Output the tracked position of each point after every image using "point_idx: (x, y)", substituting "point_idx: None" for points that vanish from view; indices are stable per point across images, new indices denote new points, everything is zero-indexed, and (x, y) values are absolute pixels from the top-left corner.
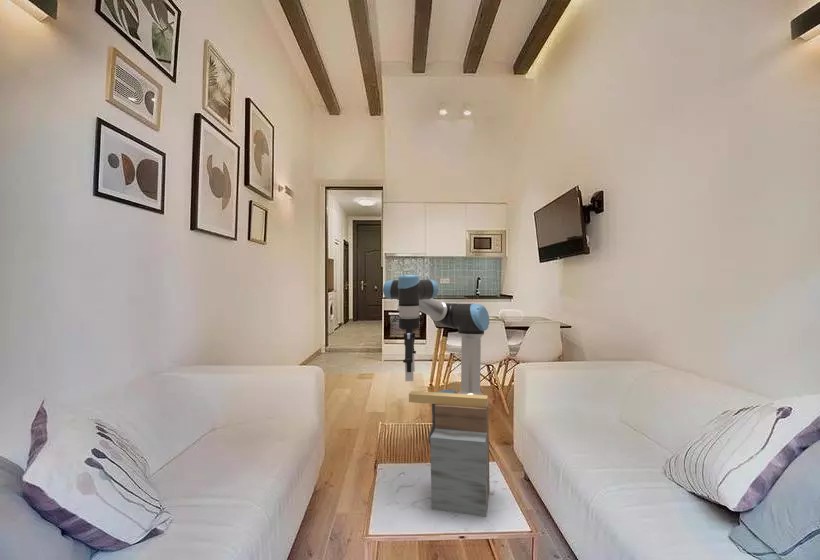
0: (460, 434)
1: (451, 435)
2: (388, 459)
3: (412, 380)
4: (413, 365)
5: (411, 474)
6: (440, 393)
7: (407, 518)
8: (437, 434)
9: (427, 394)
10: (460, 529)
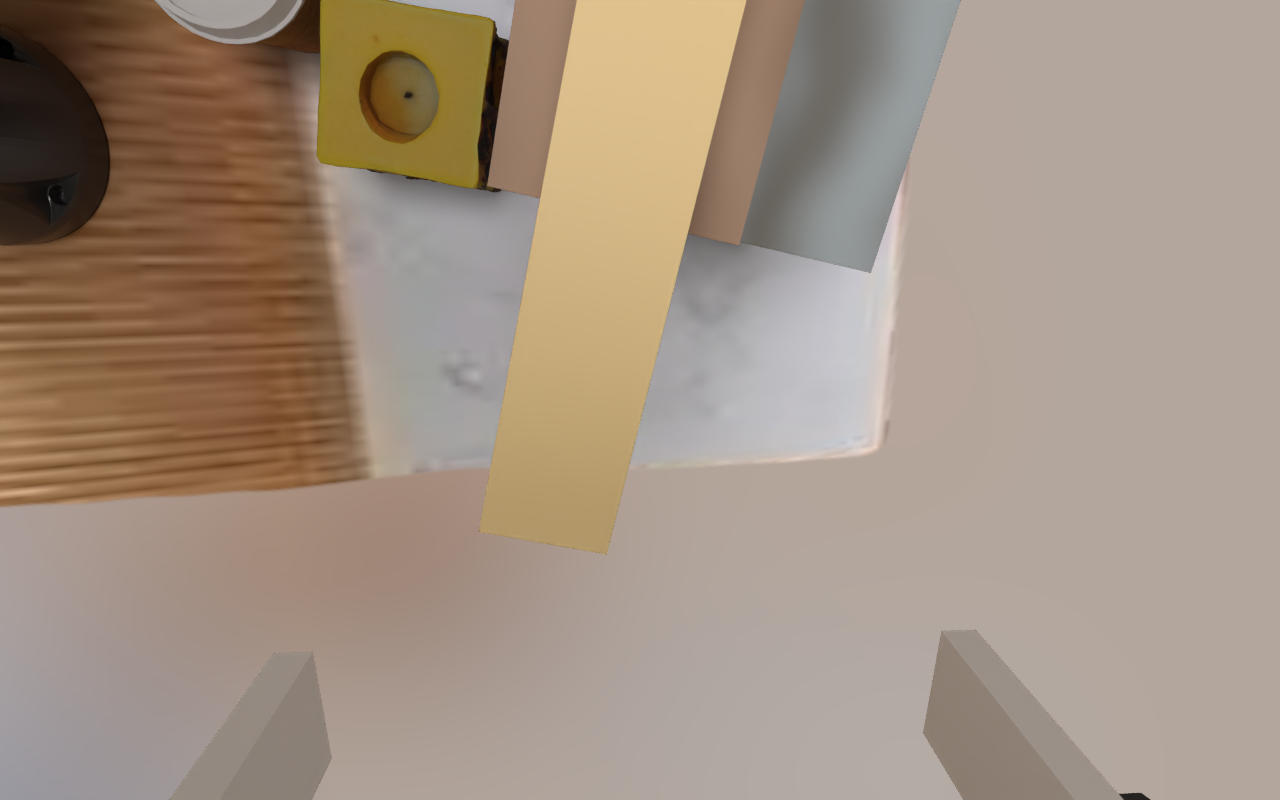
0: (839, 15)
1: (851, 100)
2: (323, 450)
3: (977, 648)
4: (256, 766)
5: (465, 332)
6: (589, 163)
7: (805, 334)
8: (822, 216)
9: (631, 342)
10: None
